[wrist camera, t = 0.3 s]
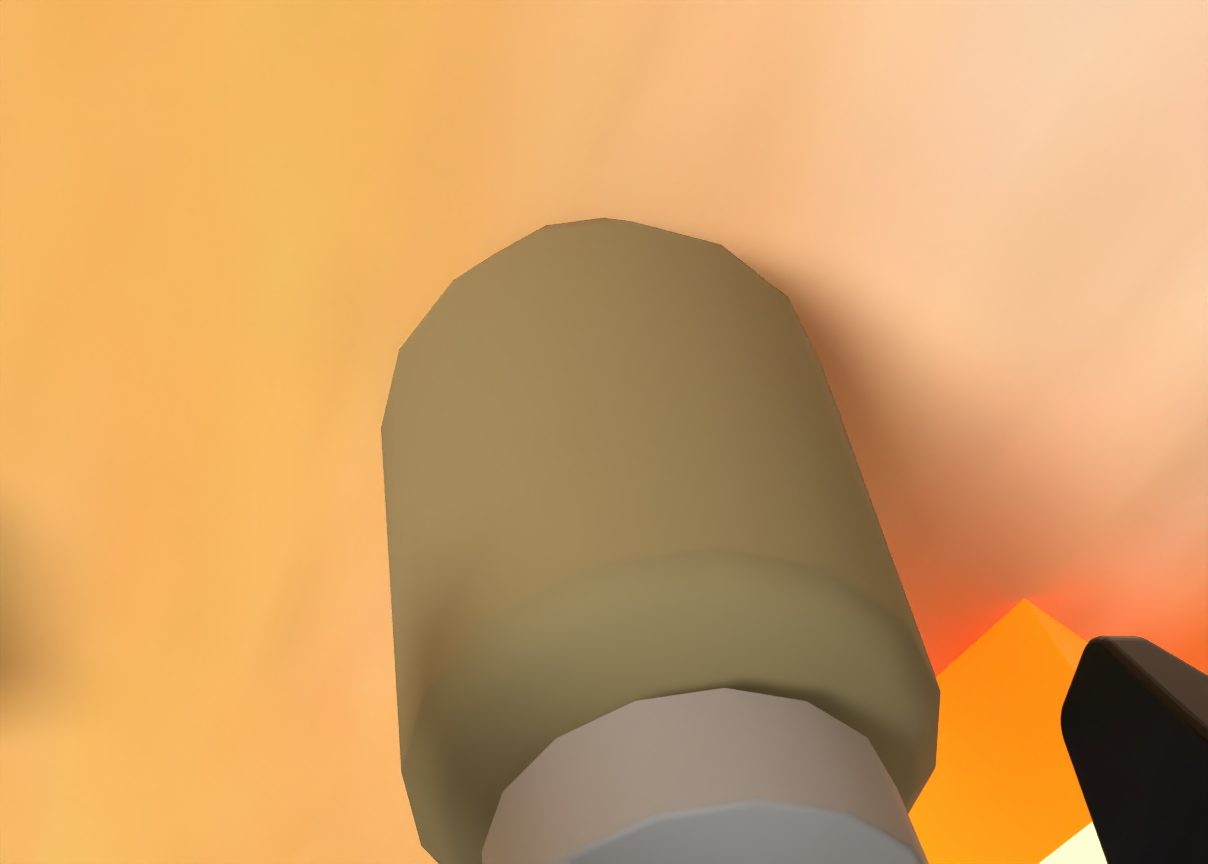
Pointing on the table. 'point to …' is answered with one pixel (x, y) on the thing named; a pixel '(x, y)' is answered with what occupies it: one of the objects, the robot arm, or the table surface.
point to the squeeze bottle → (641, 573)
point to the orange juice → (1007, 752)
